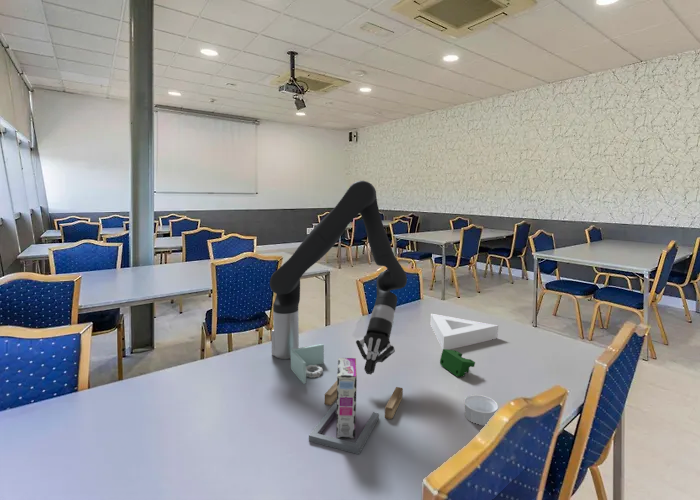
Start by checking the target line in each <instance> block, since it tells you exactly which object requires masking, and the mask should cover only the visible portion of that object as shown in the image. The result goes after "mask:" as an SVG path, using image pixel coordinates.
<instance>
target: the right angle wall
mask: <svg viewBox="0 0 700 500" xmlns="http://www.w3.org/2000/svg"><path fill="white" fill-rule="evenodd" d="M324 349H325V345H324V343H319V344H313V345H309V346H304V347H303V346H302V347H299V348H297V349H292V350H291V358H290V370H292V372H293V373H294V375H295V376H296V377H297V378H298V379H299V381H300V382H301V383H302V384H303V385H304V384H307V378H310V379H311V378H313V379H314V378H316V377H318V378H320V376H321V375H322V374H323V371H324V369H323V367H321V366H320V365H322V364H324V363H325V360H324V359H325V356H324V355H325V354H324V352H325V350H324Z"/></svg>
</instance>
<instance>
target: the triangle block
mask: <svg viewBox="0 0 700 500" xmlns="http://www.w3.org/2000/svg"><path fill="white" fill-rule="evenodd" d="M430 325H431V326H430ZM429 326H430V327H432V328H431V330H432V329H433V330H432V332H433V331H434V332H433V333H435V334H434V335H436V336H435V337H436V339H437V341H438V343H439V345H440V347H441V350H443V349H447V350H454V349H457V348H462V347H467V346H470V345H471V346H472V345H475V344H479V343H483V342H488V341H491V340H492V339H493V340H496V338H497V339H498V338H499V337H498V333H499V325H498V324H493V323H487V322H486V323H485V322H481V321H480V322H479V321H476V320H470V319H463V318H458V317H453V316H448V315H441V314H436V313H435V314H434V313H430V324H429Z"/></svg>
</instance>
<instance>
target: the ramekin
mask: <svg viewBox="0 0 700 500" xmlns="http://www.w3.org/2000/svg"><path fill="white" fill-rule="evenodd" d="M463 405H464V415H465V418H466V420H468V421H469V422H470V421H471V422H470V423H472V422H473V423H472V424H474V423H476V424H475V425H477V424H479V425H478V426H483V427H484V426H485V424H487V422H488V421H489V419H490V418H491V417H492V416H493V415H494V413H495V412H496V411H497V410H499V404H498V403H497V402H496V400H494V399H493V398H491V397H489V396H486V395H482V394H472V395H467V396H466V397H465V398H463ZM497 412H498V411H497ZM485 427H486V426H485Z"/></svg>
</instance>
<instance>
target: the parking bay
mask: <svg viewBox="0 0 700 500" xmlns="http://www.w3.org/2000/svg"><path fill="white" fill-rule="evenodd" d="M336 415H337V403H333V404H332V405H331V407H330V408H329V409H328V411H327V412H326V413H325V414H324V416H323V417H322V418H321V420H320V421H319V422H318V423H317V424H316V426H314V428H313V429H312V431H311V432H310V433H309V434H308V442H312V443H316V444H319V445H323V446H325V447H331V448H334V449H337V450H342V451H345V452H349V453H353V454H356V455H360V453H361V452H362V449H364V446H365V444H366V442H367V440H368V438H369V437H370V435H371V433H372V432H373V429H374V428H375V426H376V424H377V422H378V420H379V417H380V416H379V415H380V414H379V412H375V411H373V412H372V414H371V415H370V418H369V419H368V421H367V423H366V424H365V426H364V428H363V429H362V430H361V432H360V434H359V436H358V438H357V439H356V441H355V442H353V441H349V440H348V441H347V440H345V439H342V438H336V437H332V436H329V435H325V434H322V433H323V432H324V430H325V429H326V428H327V427H328V425H329V424H330V423H331V421H332V420H333V418H334V417H335V416H336Z"/></svg>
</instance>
